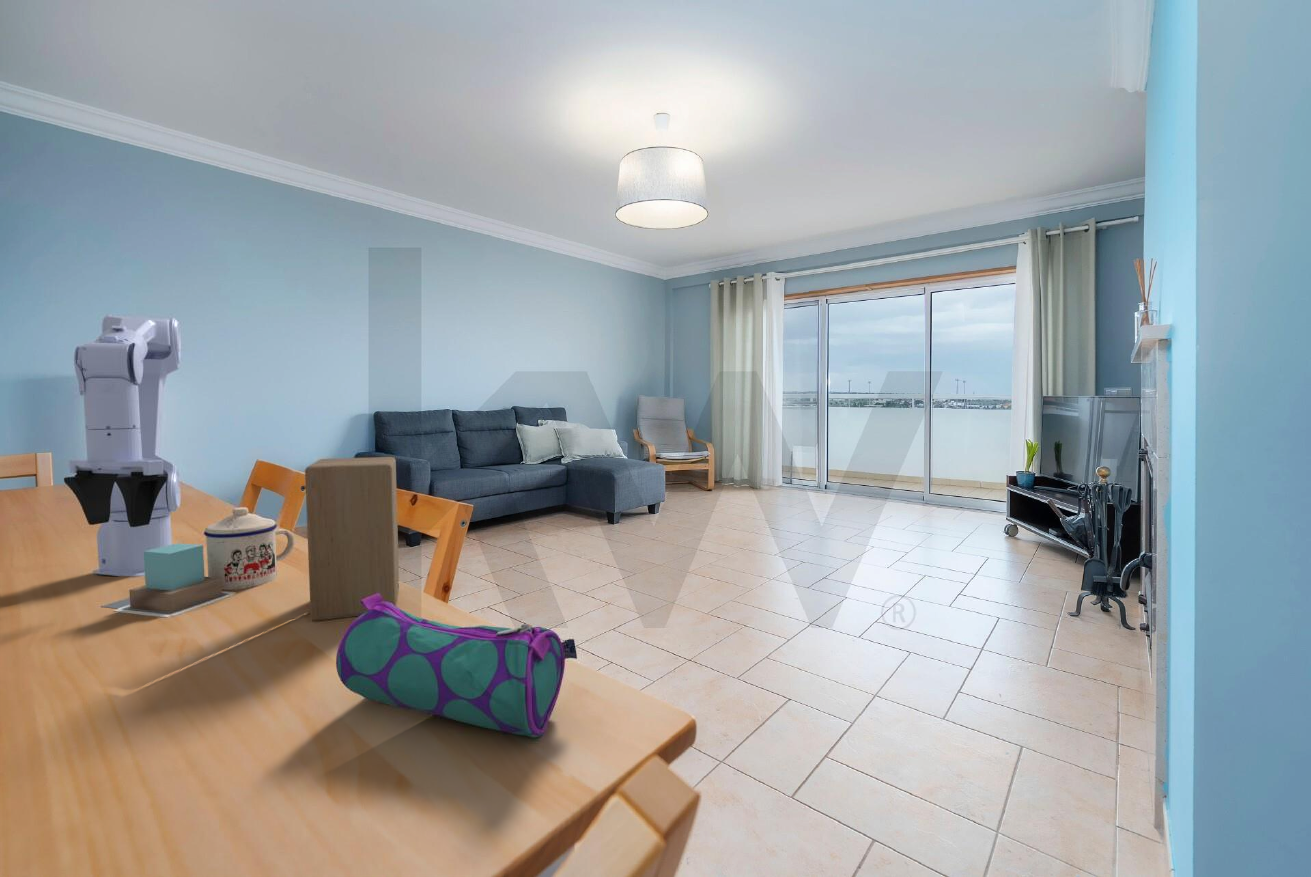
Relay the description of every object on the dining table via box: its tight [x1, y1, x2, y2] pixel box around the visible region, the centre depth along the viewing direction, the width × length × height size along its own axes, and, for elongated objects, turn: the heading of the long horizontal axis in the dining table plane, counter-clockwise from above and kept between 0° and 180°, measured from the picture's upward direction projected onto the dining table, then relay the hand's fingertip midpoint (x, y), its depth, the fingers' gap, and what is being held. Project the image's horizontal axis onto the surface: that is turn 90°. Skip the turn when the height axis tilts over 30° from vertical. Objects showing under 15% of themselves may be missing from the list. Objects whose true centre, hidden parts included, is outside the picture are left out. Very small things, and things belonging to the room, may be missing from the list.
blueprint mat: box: [100, 590, 237, 619], centre depth 82 cm, size 13×10×1 cm
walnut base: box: [128, 576, 223, 613], centre depth 82 cm, size 7×7×2 cm
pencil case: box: [335, 593, 578, 739], centre depth 55 cm, size 21×9×10 cm, turn 72°
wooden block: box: [304, 456, 400, 621], centre depth 81 cm, size 10×10×20 cm
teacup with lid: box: [203, 506, 295, 591], centre depth 92 cm, size 12×9×12 cm
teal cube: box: [144, 542, 206, 591], centre depth 81 cm, size 4×4×5 cm
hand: (119, 524), depth 84 cm, fingers open, 7 cm apart
